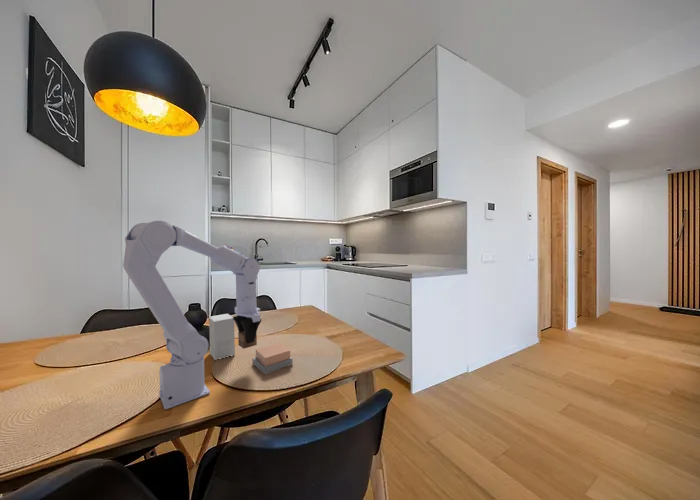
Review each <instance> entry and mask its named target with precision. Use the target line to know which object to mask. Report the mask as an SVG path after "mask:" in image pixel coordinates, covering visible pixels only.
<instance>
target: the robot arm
mask: <svg viewBox="0 0 700 500" xmlns="http://www.w3.org/2000/svg"><path fill="white" fill-rule="evenodd" d="M124 241H125V246H124V247H125V249H124V256H123V264H122V267H123V269H124V271H125V273H126V274H127V276H128V277H129V279H130V280H131V282H132V283H133V285H134V287H135V289H136V290H137V291H138V293H139V294H140V296H141V297H142V299H143V301H144V302H145V303H146V305H147V307H148V309H149V310H150V311H151V313H152V315H153V317H154V318H155V319H156V321H157V322H158V324H159V325H160V327H161V329H162V330H163V337H164V338H165V342H166V343H165V344H166V345H165V347H166V350H167V351H168V352H169V354H171V357H170V362H168V363H166V364H163V365H160V366H159V393H158V394H159V398H160V401H161V404H162V405H163V409H164V410H168V409H171V408H174V407H176V406H180V405H182V404H186V403H187V402H190V401H192V400H196V399H199V398H202V397H204V396H206V395H208V394H211V391H210V389H209V388H208V387H207V385H206V383H205V356H206V354H207V353H208V350H209V348H210V343H209V340H208V339H207V337H205V336H202V335H201V334H199V332H198V331H197V329H196V328H195V327H194V326H193V325H192V324H191V323H190V322H189V321H188V319H187V317H186V316H185V315H184V313H183V311H182V309H181V308H180V305H179V304H178V303H177V301H176V299H175V297H174V295H172V293H171V290H170V289H169V288H168V286H167V284H166V282H165V280H164V278H163V277H162V275H161V273H159V271H158V269H157V264H158V262H159V260H160V258H161V256H162V255H163V254H164V253H165V252H166V251H167V250H169V249H170V247H182V248H185V249H187V250H190V251H192V252H195V253H198V254H201V255H203V256H205V257H208V258H210V260H211V261H210V262H211V263H212V264H213V265H215V266H218V267H220V268H223V269H225V270H227V271H230V272H232V274H233V275H235V290H236V291H235V293H236V294H235V295H236V300H235V301H236V302H235V304H236V305H235V306H234V314H235V316H232V317H233V319H234V324H235V325H236V327H237V330H238V332H241V331H245V338H246V342H247V343H251V342H254V340H255V336H256V332H257V331H258V329H259V326H260V324H261V322H262V318H261V314H260V313H259V312H260V311H261V308H259V307H258V305H257V304H258V303H257V280H258V274H259V272H260V269H261V266H260V265H259V262H258V261H257V259H256V258H254V257H246V253H243V252H238V251H237V250H235V249H233V248H232V246H230V245H228V244H226V245H223V244H221V245H219V246H215V245H213V244H211V243H209V241H206V240H204V239H202V238H200V237H199V236H196V235H194V234H193V233H190V232H189V231H186V230H185V229H183V228H182V227H180V226H176V225H172V224H171V223H169V222H167V221H163V220H153V221H150V222H141V223H137V224H135V225H134V226H132V227H131V229H130V230H129V231H128V233H127V234H126V236H125V237H124Z"/></svg>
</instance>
